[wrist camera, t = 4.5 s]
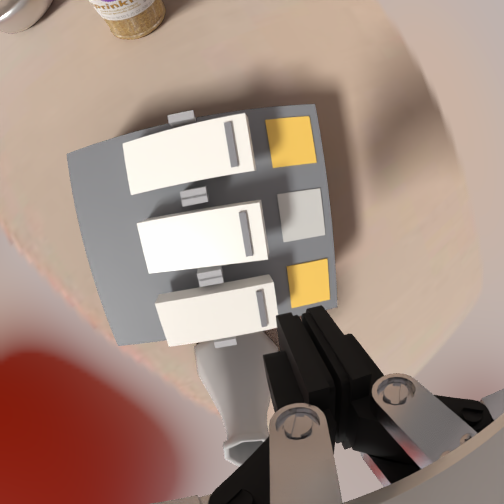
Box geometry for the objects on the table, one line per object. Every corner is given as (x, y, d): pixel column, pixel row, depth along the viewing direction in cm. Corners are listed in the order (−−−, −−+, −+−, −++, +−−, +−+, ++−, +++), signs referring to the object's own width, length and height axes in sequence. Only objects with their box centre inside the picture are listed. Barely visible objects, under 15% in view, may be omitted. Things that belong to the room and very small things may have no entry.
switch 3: (158, 294, 15) (154, 304, 13) (269, 274, 15) (274, 283, 14) (171, 335, 15) (168, 348, 14) (275, 316, 16) (280, 328, 15)
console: (99, 156, 18) (52, 151, 11) (294, 119, 19) (329, 96, 12) (136, 312, 21) (111, 360, 14) (315, 279, 22) (350, 318, 16)
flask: (264, 310, 22) (296, 398, 12) (288, 375, 24) (320, 461, 15) (179, 339, 22) (164, 433, 12) (213, 398, 24) (217, 487, 14)
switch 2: (146, 218, 14) (135, 223, 13) (261, 199, 13) (259, 202, 12) (157, 265, 15) (147, 274, 14) (269, 251, 14) (267, 260, 13)
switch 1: (133, 144, 13) (121, 143, 12) (247, 117, 12) (244, 112, 11) (141, 192, 14) (129, 195, 13) (256, 170, 13) (254, 170, 12)
